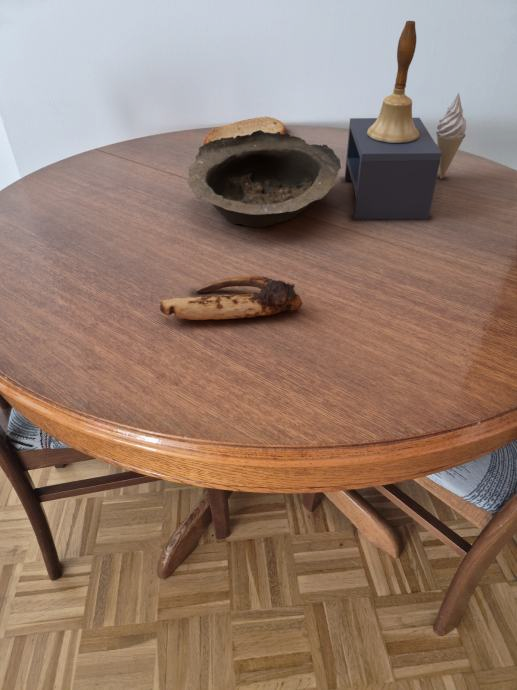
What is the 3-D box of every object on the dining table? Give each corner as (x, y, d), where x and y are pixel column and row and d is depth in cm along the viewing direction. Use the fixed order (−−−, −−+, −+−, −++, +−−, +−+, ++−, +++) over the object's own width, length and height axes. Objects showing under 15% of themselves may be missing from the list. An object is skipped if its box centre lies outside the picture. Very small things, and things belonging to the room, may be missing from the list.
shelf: (409, 178, 101) (419, 117, 94) (428, 219, 89) (441, 153, 82) (344, 178, 101) (349, 118, 94) (354, 219, 89) (361, 153, 82)
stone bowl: (291, 166, 105) (295, 118, 99) (362, 232, 89) (372, 179, 83) (169, 190, 97) (164, 139, 91) (222, 266, 81) (221, 212, 75)
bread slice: (283, 126, 123) (283, 109, 121) (292, 156, 110) (292, 138, 107) (204, 129, 123) (203, 112, 120) (203, 160, 109) (201, 141, 106)
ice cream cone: (422, 175, 102) (437, 90, 92) (444, 170, 103) (462, 86, 94) (437, 185, 98) (456, 98, 89) (461, 181, 100) (481, 94, 90)
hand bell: (390, 122, 92) (405, 13, 82) (429, 135, 87) (451, 21, 77) (356, 133, 88) (367, 21, 78) (395, 148, 83) (413, 30, 73)
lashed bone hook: (293, 285, 76) (163, 292, 74) (294, 256, 73) (159, 262, 71) (304, 325, 68) (161, 334, 67) (307, 294, 66) (156, 302, 64)
